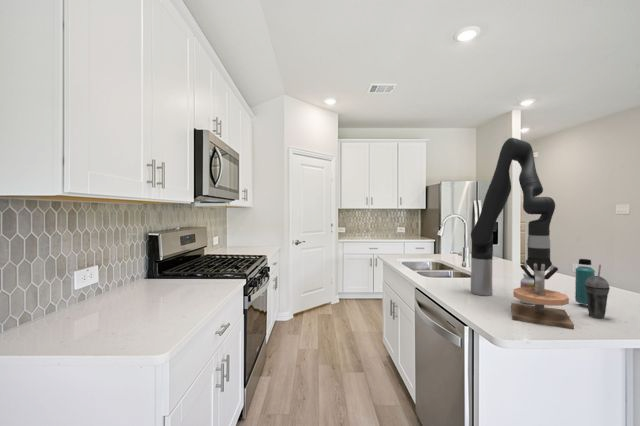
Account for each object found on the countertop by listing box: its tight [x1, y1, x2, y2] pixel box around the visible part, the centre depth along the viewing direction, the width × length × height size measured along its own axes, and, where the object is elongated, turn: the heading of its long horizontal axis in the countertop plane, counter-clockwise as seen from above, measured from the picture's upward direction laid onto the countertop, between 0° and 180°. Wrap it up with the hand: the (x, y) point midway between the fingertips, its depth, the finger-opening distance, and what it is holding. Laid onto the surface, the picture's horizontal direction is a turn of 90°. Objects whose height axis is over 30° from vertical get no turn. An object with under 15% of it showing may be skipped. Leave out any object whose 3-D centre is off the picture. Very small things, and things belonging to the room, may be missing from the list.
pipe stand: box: [510, 271, 575, 330], centre depth 119 cm, size 18×18×18 cm
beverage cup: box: [585, 264, 610, 320], centre depth 119 cm, size 7×7×20 cm
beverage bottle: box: [574, 258, 596, 306], centre depth 131 cm, size 6×7×20 cm
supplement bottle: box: [519, 272, 535, 305], centre depth 136 cm, size 7×7×13 cm
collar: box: [512, 287, 570, 307], centre depth 119 cm, size 17×17×2 cm
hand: (538, 289), depth 125 cm, fingers closed
